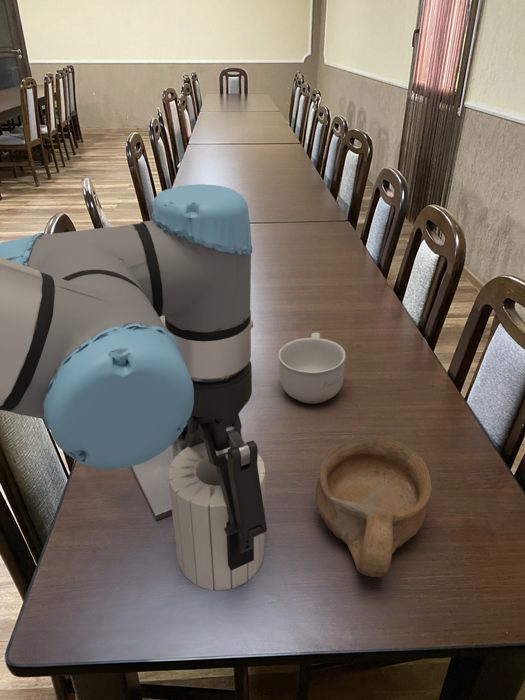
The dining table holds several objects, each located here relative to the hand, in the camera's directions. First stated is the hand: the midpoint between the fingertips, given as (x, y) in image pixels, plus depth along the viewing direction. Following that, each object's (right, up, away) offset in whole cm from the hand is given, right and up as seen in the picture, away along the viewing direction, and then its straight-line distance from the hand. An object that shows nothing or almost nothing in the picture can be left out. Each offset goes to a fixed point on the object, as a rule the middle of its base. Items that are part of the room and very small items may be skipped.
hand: (219, 527), depth 61 cm
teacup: (+13, +13, +31) cm, 36 cm away
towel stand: (-6, +3, +13) cm, 15 cm away
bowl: (+18, -2, +5) cm, 19 cm away
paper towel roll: (0, -4, +2) cm, 4 cm away
